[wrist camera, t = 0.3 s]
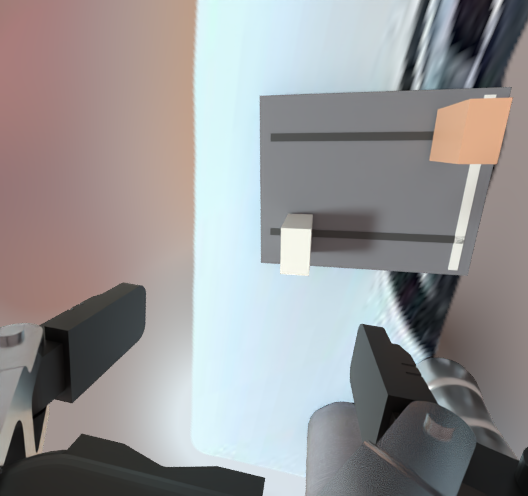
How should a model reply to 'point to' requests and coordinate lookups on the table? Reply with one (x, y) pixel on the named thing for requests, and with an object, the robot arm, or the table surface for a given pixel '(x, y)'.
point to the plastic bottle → (463, 400)
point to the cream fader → (296, 244)
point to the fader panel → (370, 180)
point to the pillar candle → (330, 443)
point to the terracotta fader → (470, 131)
